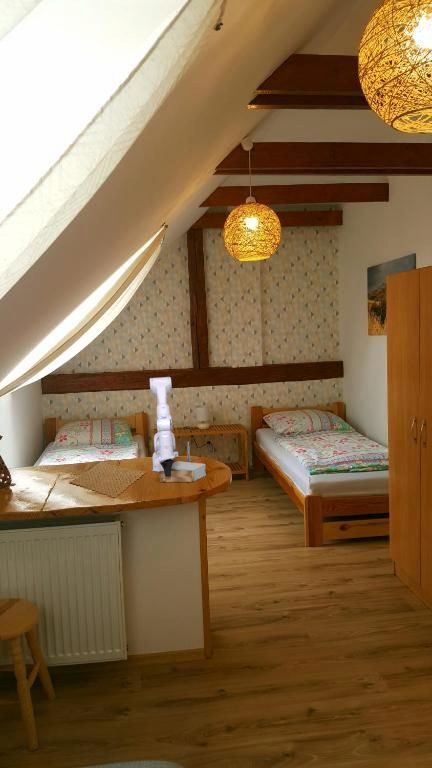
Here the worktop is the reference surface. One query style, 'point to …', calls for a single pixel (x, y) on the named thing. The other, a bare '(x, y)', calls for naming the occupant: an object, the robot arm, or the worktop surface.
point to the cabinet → (190, 468)
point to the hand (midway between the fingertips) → (167, 476)
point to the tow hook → (189, 453)
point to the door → (177, 476)
